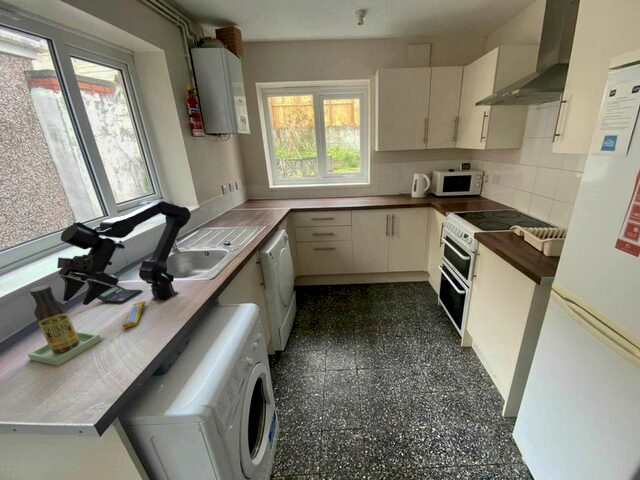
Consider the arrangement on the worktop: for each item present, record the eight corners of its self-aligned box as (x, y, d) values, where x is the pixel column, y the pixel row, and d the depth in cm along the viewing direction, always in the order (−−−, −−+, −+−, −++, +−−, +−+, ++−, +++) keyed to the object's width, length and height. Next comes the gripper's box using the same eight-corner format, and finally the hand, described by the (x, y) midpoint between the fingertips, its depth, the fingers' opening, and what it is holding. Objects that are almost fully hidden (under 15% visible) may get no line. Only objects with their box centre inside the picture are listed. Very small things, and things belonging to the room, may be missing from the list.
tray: (75, 335, 92) (73, 330, 92) (101, 339, 89) (99, 334, 89) (30, 359, 82) (27, 354, 81) (58, 366, 79) (55, 360, 78)
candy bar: (137, 327, 95) (135, 322, 94) (122, 330, 93) (120, 325, 93) (147, 303, 109) (145, 299, 109) (134, 306, 108) (132, 302, 107)
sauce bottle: (54, 357, 82) (20, 296, 74) (51, 349, 85) (19, 290, 78) (84, 345, 86) (54, 287, 78) (80, 338, 90) (51, 281, 82)
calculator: (122, 303, 111) (119, 296, 110) (96, 302, 113) (93, 295, 111) (142, 291, 119) (139, 285, 118) (118, 290, 121) (115, 284, 120)
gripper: (52, 242, 87) (22, 291, 82) (92, 246, 82) (63, 299, 76) (91, 257, 97) (67, 301, 92) (129, 261, 91) (105, 309, 86)
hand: (74, 302), depth 86 cm, fingers open, 9 cm apart
